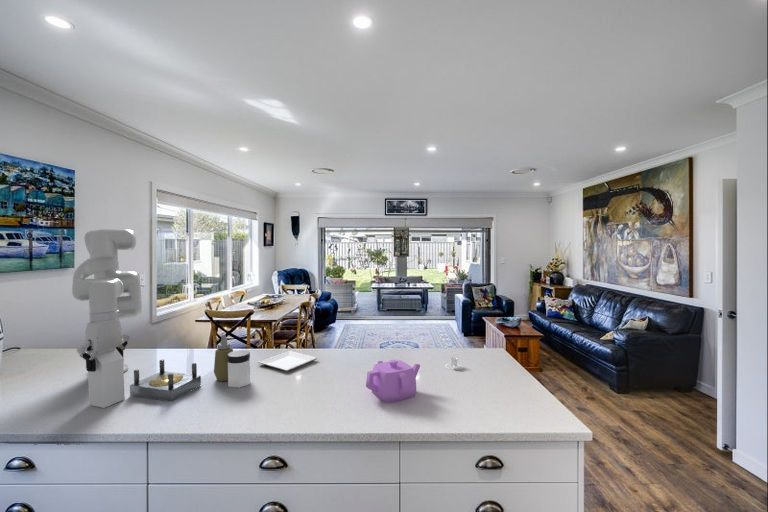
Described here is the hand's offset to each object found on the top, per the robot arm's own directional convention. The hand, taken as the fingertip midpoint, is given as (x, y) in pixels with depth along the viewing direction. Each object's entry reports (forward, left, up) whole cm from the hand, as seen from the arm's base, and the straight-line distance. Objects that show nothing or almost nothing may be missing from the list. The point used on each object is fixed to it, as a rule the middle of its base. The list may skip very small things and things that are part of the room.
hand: (105, 366), depth 126 cm
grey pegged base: (+11, +13, -13) cm, 22 cm away
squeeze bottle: (+25, +29, -13) cm, 40 cm away
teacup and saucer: (+111, +64, -14) cm, 129 cm away
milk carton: (-1, 0, -13) cm, 13 cm away
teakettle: (+93, +33, -13) cm, 100 cm away
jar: (+33, +26, -13) cm, 44 cm away
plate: (+40, +51, -13) cm, 67 cm away
